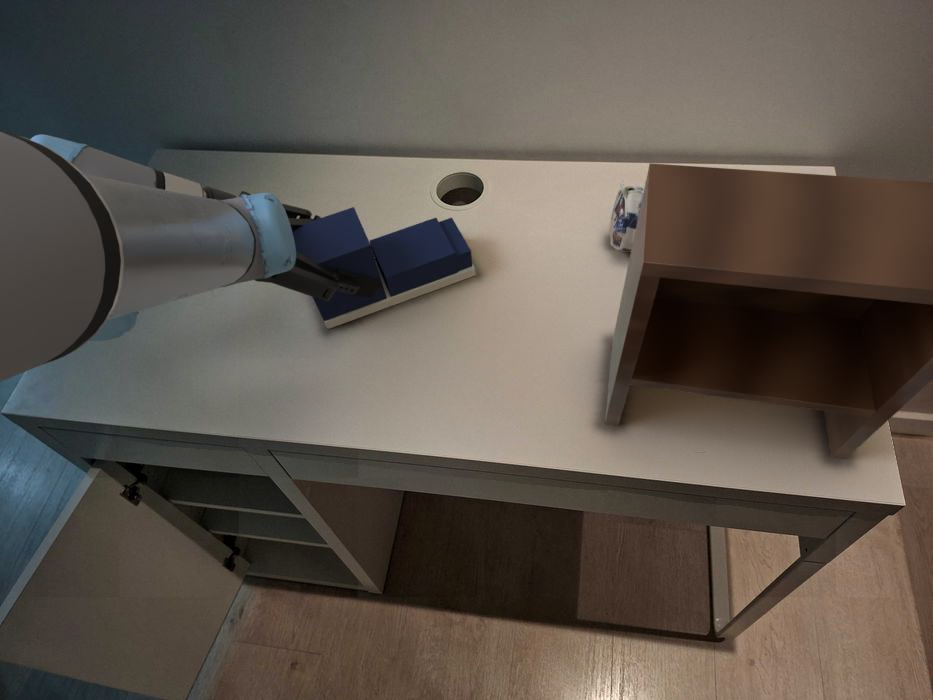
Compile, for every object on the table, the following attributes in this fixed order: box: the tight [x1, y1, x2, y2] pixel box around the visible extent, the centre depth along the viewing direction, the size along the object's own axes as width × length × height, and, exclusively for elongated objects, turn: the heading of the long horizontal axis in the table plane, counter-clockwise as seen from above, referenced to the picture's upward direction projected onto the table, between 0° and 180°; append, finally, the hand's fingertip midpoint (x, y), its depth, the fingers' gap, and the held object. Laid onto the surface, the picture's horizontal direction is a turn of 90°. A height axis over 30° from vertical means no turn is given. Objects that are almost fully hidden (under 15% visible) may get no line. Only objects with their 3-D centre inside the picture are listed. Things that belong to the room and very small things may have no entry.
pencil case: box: [609, 179, 644, 253], centre depth 80 cm, size 22×8×10 cm, turn 84°
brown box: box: [604, 163, 933, 460], centre depth 59 cm, size 26×12×28 cm, turn 78°
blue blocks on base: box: [292, 206, 477, 330], centre depth 80 cm, size 22×8×12 cm, turn 112°
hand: (366, 267), depth 81 cm, fingers closed on blue blocks on base, 8 cm apart
